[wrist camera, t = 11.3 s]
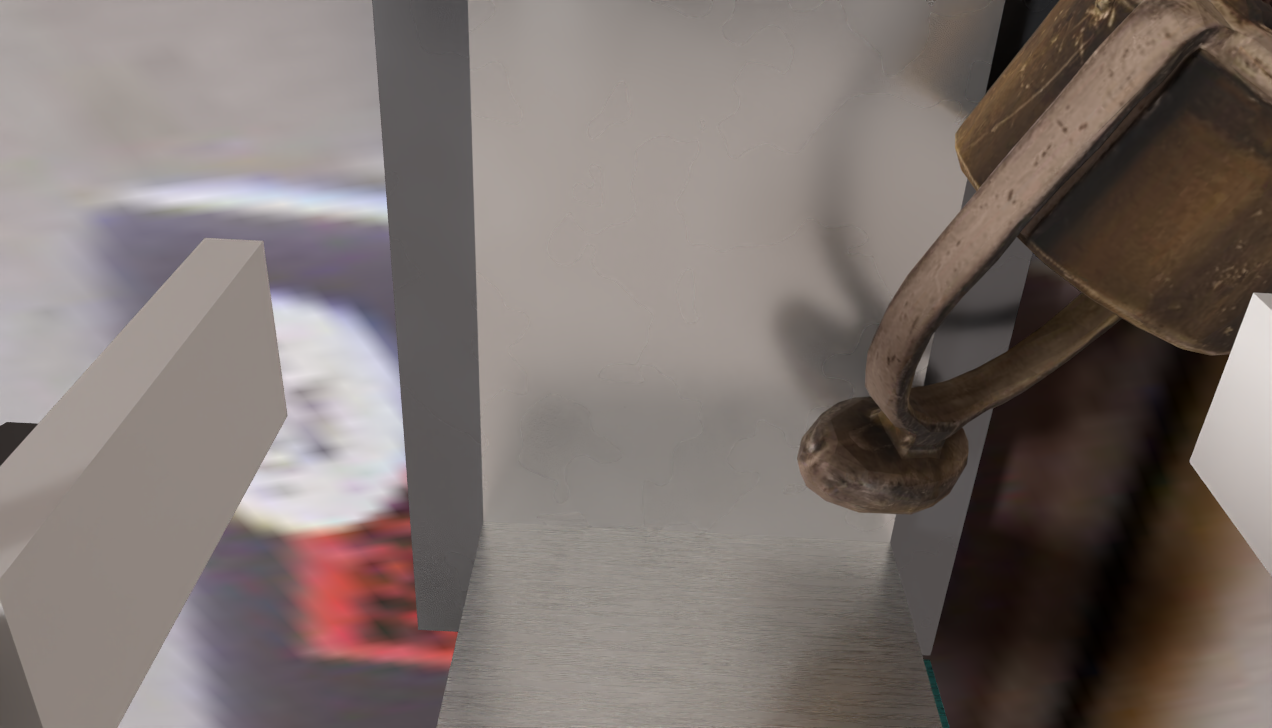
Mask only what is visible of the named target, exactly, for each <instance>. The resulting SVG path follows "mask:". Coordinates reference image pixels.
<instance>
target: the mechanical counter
mask: <svg viewBox="0 0 1272 728" xmlns="http://www.w3.org/2000/svg"><path fill="white" fill-rule="evenodd" d="M955 149H956V153H957V157H958V160H959V164H960V168H961V170H962V172H963V173H964V175H965V176H966V177H967V179H968V180H969V182H970V183H971V184H972V186H973V187H974V188H975V190H976V193H975V194H974V195H973V196H972V197H971V199H970V200H969V201H968V202H967V203H966V205H965V206H964V207H963V208H962V209H961V210H960V212H959V213H958V214H957V215H956V216H955V218H954V219H953V220H952V221H951V222H950V224H949V225H948V226H947V227H946V228H945V230H944V231H943V232H942V233H941V234H940V236H939V237H938V238H937V239H936V241H935V242H934V243H933V244H932V245H931V247H930V248H929V249H928V250H927V252H926V253H925V254H924V255H923V256H922V258H921V259H920V260H919V261H918V263H917V264H916V265H915V266H914V267H913V269H912V270H911V271H910V272H909V274H908V275H907V276H906V278H905V280H904V281H903V283H902V284H901V286H900V287H899V289H898V291H897V292H896V294H895V295H894V297H893V298H892V300H891V302H890V303H889V305H888V307H887V309H886V311H885V314H884V316H883V318H882V320H881V322H880V324H879V326H878V328H877V331H876V333H875V335H874V337H873V339H872V342H871V344H870V347H869V350H868V354H867V362H866V372H865V387H866V388H867V390H868V392H869V394H870V396H868V397H855V398H851V399H848V400H844V401H841V402H838V403H836V404H835V405H834V406H832V407H831V408H829V409H828V410H826V411H825V412H823V413H822V414H821V415H820V416H819V417H818V418H817V420H816V421H815V422H814V423H813V425H812V426H811V427H810V428H809V429H808V431H807V432H806V433H805V434H804V435H803V437H802V439H801V443H800V448H799V452H798V456H797V461H798V465H799V469H800V473H801V475H802V478H803V480H804V482H805V485H806V487H808V488H809V489H810V490H812V491H813V492H814V493H816V494H817V495H818V496H820V497H821V498H822V499H824V500H825V501H827V502H830V503H833V504H836V505H838V506H841V507H844V508H847V509H850V510H853V511H855V512H858V513H881V514H909V515H911V514H914V513H916V512H919V511H922V510H924V509H927V508H930V507H933V506H934V505H935V504H937V503H938V502H939V501H941V500H942V499H943V498H945V497H946V496H947V495H949V494H950V492H951V490H952V489H953V487H954V485H955V484H956V482H957V480H958V479H959V477H960V475H961V474H962V472H963V470H964V469H965V467H966V465H967V460H968V452H969V446H968V439H967V437H966V434H965V431H964V429H963V428H962V427H963V426H965V425H966V424H967V423H968V422H970V421H972V420H973V419H975V418H976V417H978V416H979V415H981V414H983V413H984V412H986V411H987V410H990V409H992V408H995V407H997V406H1000V405H1002V404H1003V403H1005V402H1007V401H1009V400H1011V399H1012V398H1014V397H1016V396H1018V395H1020V394H1022V393H1023V392H1025V391H1026V390H1028V389H1029V388H1031V387H1032V386H1033V385H1035V384H1036V383H1038V382H1039V381H1041V380H1042V379H1044V378H1045V377H1046V376H1048V375H1049V374H1051V373H1052V372H1054V371H1055V370H1056V369H1058V368H1059V367H1060V366H1062V365H1063V364H1065V363H1066V362H1067V361H1069V360H1070V359H1071V358H1073V357H1074V356H1075V355H1077V354H1078V353H1079V352H1080V351H1082V350H1083V349H1084V348H1086V347H1087V346H1088V345H1089V344H1091V343H1092V342H1093V341H1095V340H1096V339H1097V338H1099V337H1100V336H1101V335H1102V334H1104V333H1105V332H1106V331H1107V330H1108V329H1110V328H1111V327H1112V326H1113V325H1115V324H1116V323H1117V322H1118V321H1120V320H1121V319H1124V320H1126V321H1127V322H1129V323H1130V324H1132V325H1134V326H1136V327H1138V328H1140V329H1142V330H1144V331H1146V332H1148V333H1150V334H1152V335H1154V336H1156V337H1158V338H1160V339H1162V340H1164V341H1166V342H1169V343H1171V344H1173V345H1175V346H1177V347H1179V348H1181V349H1184V350H1189V351H1193V352H1198V353H1202V354H1206V355H1224V354H1230V353H1231V350H1232V348H1233V345H1234V342H1235V340H1236V337H1237V334H1238V332H1239V329H1240V326H1241V324H1242V321H1243V319H1244V316H1245V313H1246V311H1247V308H1248V305H1249V303H1250V300H1251V297H1252V295H1253V293H1270V294H1272V0H1059V1H1058V3H1057V4H1056V5H1055V6H1054V8H1053V9H1052V10H1051V11H1050V13H1049V14H1048V15H1047V17H1046V18H1045V19H1044V20H1043V22H1042V23H1041V24H1040V25H1039V27H1038V28H1037V29H1036V30H1035V32H1034V33H1033V34H1032V36H1031V37H1030V38H1029V39H1028V41H1027V42H1026V43H1025V44H1024V46H1023V47H1022V48H1021V50H1020V51H1019V52H1018V53H1017V55H1016V56H1015V57H1014V58H1013V60H1012V61H1011V62H1010V64H1009V65H1008V66H1007V67H1006V69H1005V70H1004V71H1003V72H1002V74H1001V75H1000V76H999V78H998V79H997V80H996V81H995V83H994V84H993V85H992V86H991V88H990V89H989V90H988V92H987V93H986V94H985V95H984V97H983V98H982V99H981V100H980V102H979V103H978V104H977V106H976V107H975V108H974V109H973V111H972V112H971V113H970V114H969V116H968V117H967V118H966V120H965V121H964V122H963V123H962V125H961V126H960V127H959V129H958V130H957V132H956V133H955ZM1016 237H1017V238H1018V239H1019V240H1020V241H1021V242H1022V243H1023V244H1024V245H1026V246H1027V247H1028V248H1029V249H1030V250H1031V251H1032V252H1033V253H1034V254H1035V255H1036V256H1037V257H1038V258H1039V259H1040V260H1041V261H1042V262H1043V263H1044V264H1045V265H1047V266H1048V267H1049V268H1051V269H1052V270H1053V271H1055V272H1056V273H1057V274H1059V275H1060V276H1061V277H1063V278H1064V279H1065V280H1066V281H1068V282H1069V283H1070V284H1072V285H1073V286H1074V287H1076V288H1077V289H1078V290H1080V291H1081V292H1082V293H1081V294H1080V295H1079V296H1078V297H1077V298H1075V299H1074V300H1073V301H1072V302H1071V303H1070V304H1068V305H1067V306H1066V307H1065V308H1064V309H1062V310H1061V311H1060V312H1059V313H1058V314H1057V315H1055V316H1054V317H1053V318H1052V319H1051V320H1050V321H1048V322H1047V323H1046V324H1045V325H1044V326H1042V327H1041V328H1040V329H1038V330H1037V331H1035V332H1034V333H1032V334H1031V335H1030V336H1028V337H1027V338H1025V339H1024V340H1022V341H1021V342H1019V343H1018V344H1017V345H1015V346H1014V347H1012V348H1011V349H1009V350H1008V351H1007V352H1005V353H1003V354H1001V355H999V356H998V357H996V358H994V359H992V360H990V361H988V362H987V363H985V364H983V365H981V366H979V367H977V368H975V369H973V370H971V371H968V372H966V373H964V374H961V375H959V376H957V377H954V378H952V379H949V380H947V381H943V382H939V383H935V384H931V385H927V386H919V387H912V383H913V379H914V376H915V372H916V368H917V366H918V364H919V362H920V360H921V357H922V355H923V353H924V351H925V349H926V347H927V345H928V343H929V341H930V339H931V337H932V335H933V334H934V332H935V331H936V330H937V329H938V327H939V326H940V325H941V323H942V322H943V321H944V320H945V318H946V317H947V316H948V315H949V313H950V312H951V311H952V310H953V308H954V307H955V306H956V305H957V303H958V302H959V301H960V300H961V299H962V297H963V296H964V295H965V294H966V293H967V292H968V291H969V290H970V289H971V288H972V287H973V286H974V285H975V284H976V283H977V282H978V281H979V280H980V279H981V278H982V277H983V276H984V275H985V273H986V272H987V271H988V270H989V269H990V268H991V267H992V266H993V265H994V264H995V263H996V262H997V261H998V260H999V258H1000V257H1001V256H1002V255H1003V253H1004V252H1005V251H1006V250H1007V248H1008V247H1009V246H1010V245H1011V244H1012V242H1013V241H1014V240H1015V239H1016ZM911 387H912V388H911Z"/></svg>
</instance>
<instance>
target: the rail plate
mask: <svg viewBox="0 0 1272 728" xmlns="http://www.w3.org/2000/svg"><path fill="white" fill-rule="evenodd" d="M1058 1H1059V0H372V4H373V18H374V32H375V45H376V59H377V72H378V86H379V100H380V113H381V127H382V141H383V154H384V168H385V182H386V195H387V209H388V223H389V236H390V250H391V264H392V277H393V291H394V305H395V318H396V332H397V345H398V359H399V373H400V386H401V400H402V414H403V427H404V441H405V455H406V468H407V482H408V496H409V509H410V523H411V537H412V550H413V564H414V577H415V591H416V605H417V618H418V630H435V631H455V632H458V636H457V640H456V645H455V649H454V653H453V658H452V662H451V666H450V671H449V675H448V680H447V684H446V688H445V693H444V697H443V702H442V706H441V710H440V715H439V719H438V724H437V728H949V725H948V721H947V718H946V715H945V711H944V708H943V704H942V701H941V697H940V694H939V690H938V687H937V683H936V680H935V677H934V673H933V670H932V666H931V663H930V660H923V657H922V655H931V651H932V647H933V643H934V639H935V635H936V631H937V627H938V624H939V620H940V616H941V612H942V608H943V604H944V600H945V596H946V592H947V588H948V584H949V580H950V576H951V572H952V568H953V564H954V561H955V557H956V553H957V549H958V545H959V541H960V537H961V533H962V529H963V525H964V521H965V517H966V513H967V509H968V505H969V501H970V497H971V494H972V490H973V486H974V482H975V478H976V474H977V470H978V466H979V462H980V458H981V454H982V450H983V446H984V442H985V438H986V434H987V431H988V427H989V423H990V419H991V415H992V411H993V408H992V409H990V410H987V411H986V412H984V413H983V414H981V415H979V416H978V417H976V418H975V419H973V420H972V421H970V422H968V423H967V424H966V425H965V426H963V427H962V428H963V429H964V431H965V434H966V437H967V439H968V446H969V452H968V460H967V465H966V467H965V469H964V470H963V472H962V474H961V475H960V477H959V479H958V480H957V482H956V484H955V485H954V487H953V489H952V490H951V492H950V494H949V495H947V496H946V497H945V498H943V499H942V500H941V501H939V502H938V503H937V504H935V505H934V506H933V507H930V508H927V509H924V510H922V511H919V512H916V513H914V514H911V515H909V514H881V513H858V512H855V511H853V510H850V509H847V508H844V507H841V506H838V505H836V504H833V503H830V502H827V501H825V500H824V499H822V498H821V497H820V496H818V495H817V494H816V493H814V492H813V491H812V490H810V489H809V488H808V487H806V485H805V482H804V480H803V478H802V475H801V473H800V469H799V465H798V461H797V456H798V452H799V448H800V443H801V439H802V437H803V435H804V434H805V433H806V432H807V431H808V429H809V428H810V427H811V426H812V425H813V423H814V422H815V421H816V420H817V418H818V417H819V416H820V415H821V414H822V413H823V412H825V411H826V410H828V409H829V408H831V407H832V406H834V405H835V404H836V403H838V402H841V401H844V400H848V399H851V398H855V397H868V396H870V394H869V392H868V390H867V388H866V387H865V372H866V362H867V354H868V350H869V347H870V344H871V342H872V339H873V337H874V335H875V333H876V331H877V328H878V326H879V324H880V322H881V320H882V318H883V316H884V314H885V311H886V309H887V307H888V305H889V303H890V302H891V300H892V298H893V297H894V295H895V294H896V292H897V291H898V289H899V287H900V286H901V284H902V283H903V281H904V280H905V278H906V276H907V275H908V274H909V272H910V271H911V270H912V269H913V267H914V266H915V265H916V264H917V263H918V261H919V260H920V259H921V258H922V256H923V255H924V254H925V253H926V252H927V250H928V249H929V248H930V247H931V245H932V244H933V243H934V242H935V241H936V239H937V238H938V237H939V236H940V234H941V233H942V232H943V231H944V230H945V228H946V227H947V226H948V225H949V224H950V222H951V221H952V220H953V219H954V218H955V216H956V215H957V214H958V213H959V212H960V210H961V209H962V208H963V207H964V206H965V205H966V203H967V202H968V201H969V200H970V199H971V197H972V196H973V195H974V194H975V193H976V190H975V188H974V187H973V186H972V184H971V183H970V182H969V180H968V179H967V177H966V176H965V175H964V173H963V172H962V170H961V168H960V164H959V160H958V157H957V153H956V149H955V133H956V132H957V130H958V129H959V127H960V126H961V125H962V123H963V122H964V121H965V120H966V118H967V117H968V116H969V114H970V113H971V112H972V111H973V109H974V108H975V107H976V106H977V104H978V103H979V102H980V100H981V99H982V98H983V97H984V95H985V94H986V93H987V92H988V90H989V89H990V88H991V86H992V85H993V84H994V83H995V81H996V80H997V79H998V78H999V76H1000V75H1001V74H1002V72H1003V71H1004V70H1005V69H1006V67H1007V66H1008V65H1009V64H1010V62H1011V61H1012V60H1013V58H1014V57H1015V56H1016V55H1017V53H1018V52H1019V51H1020V50H1021V48H1022V47H1023V46H1024V44H1025V43H1026V42H1027V41H1028V39H1029V38H1030V37H1031V36H1032V34H1033V33H1034V32H1035V30H1036V29H1037V28H1038V27H1039V25H1040V24H1041V23H1042V22H1043V20H1044V19H1045V18H1046V17H1047V15H1048V14H1049V13H1050V11H1051V10H1052V9H1053V8H1054V6H1055V5H1056V4H1057V3H1058ZM1032 253H1033V252H1032V251H1031V250H1030V249H1029V248H1028V247H1027V246H1026V245H1024V244H1023V243H1022V242H1021V241H1020V240H1019V239H1018V238H1017V237H1016V239H1015V240H1014V241H1013V242H1012V244H1011V245H1010V246H1009V247H1008V248H1007V250H1006V251H1005V252H1004V253H1003V255H1002V256H1001V257H1000V258H999V260H998V261H997V262H996V263H995V264H994V265H993V266H992V267H991V268H990V269H989V270H988V271H987V272H986V273H985V275H984V276H983V277H982V278H981V279H980V280H979V281H978V282H977V283H976V284H975V285H974V286H973V287H972V288H971V289H970V290H969V291H968V292H967V293H966V294H965V295H964V296H963V297H962V299H961V300H960V301H959V302H958V303H957V305H956V306H955V307H954V308H953V310H952V311H951V312H950V313H949V315H948V316H947V317H946V318H945V320H944V321H943V322H942V323H941V325H940V326H939V327H938V329H937V330H936V331H935V332H934V334H933V335H932V337H931V339H930V341H929V343H928V345H927V347H926V349H925V351H924V353H923V355H922V357H921V360H920V362H919V364H918V366H917V368H916V372H915V376H914V379H913V383H912V387H919V386H927V385H931V384H935V383H939V382H943V381H947V380H949V379H952V378H954V377H957V376H959V375H961V374H964V373H966V372H968V371H971V370H973V369H975V368H977V367H979V366H981V365H983V364H985V363H987V362H988V361H990V360H992V359H994V358H996V357H998V356H999V355H1001V354H1003V353H1005V352H1007V351H1008V348H1009V344H1010V340H1011V336H1012V332H1013V328H1014V324H1015V320H1016V316H1017V312H1018V308H1019V304H1020V301H1021V297H1022V293H1023V289H1024V285H1025V281H1026V277H1027V273H1028V269H1029V265H1030V261H1031V257H1032ZM912 387H911V388H912Z"/></svg>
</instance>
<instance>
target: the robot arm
mask: <svg viewBox="0 0 1272 728" xmlns="http://www.w3.org/2000/svg"><path fill="white" fill-rule="evenodd" d="M286 417H287V409H286V402H285V394H284V387H283V380H282V373H281V366H280V359H279V352H278V344H277V337H276V330H275V323H274V316H273V309H272V302H271V294H270V287H269V280H268V273H267V266H266V259H265V251H264V244H263V241H253V240H234V239H214V238H204V240H203V241H202V242H201V243H200V244H199V245H198V246H197V247H196V249H195V250H194V251H193V252H192V253H191V254H190V255H189V256H188V257H187V259H186V260H185V261H184V262H183V263H182V264H181V265H180V266H179V267H178V269H177V270H176V271H175V272H174V273H173V274H172V275H171V276H170V278H169V279H168V280H167V281H166V282H165V283H164V284H163V285H162V286H161V288H160V289H159V290H158V291H157V292H156V293H155V294H154V295H153V296H152V298H151V299H150V300H149V301H148V302H147V303H146V304H145V305H144V307H143V308H142V309H141V310H140V311H139V312H138V313H137V314H136V315H135V317H134V318H133V319H132V320H131V321H130V322H129V323H128V324H127V325H126V327H125V328H124V329H123V330H122V331H121V332H120V333H119V334H118V336H117V337H116V338H115V339H114V340H113V341H112V342H111V343H110V344H109V346H108V347H107V348H106V349H105V350H104V351H103V352H102V353H101V354H100V356H99V357H98V358H97V359H96V360H95V361H94V362H93V363H92V364H91V366H90V367H89V368H88V369H87V370H86V371H85V372H84V373H83V375H82V376H81V377H80V378H79V379H78V380H77V381H76V382H75V383H74V385H73V386H72V387H71V388H70V389H69V390H68V391H67V392H66V393H65V395H64V396H63V397H62V398H61V399H60V400H59V401H58V402H57V404H56V405H55V406H54V407H53V408H52V409H51V410H50V411H49V412H48V414H47V415H46V416H45V417H44V418H43V419H42V420H41V421H40V422H39V424H33V423H14V422H6V423H5V424H3V425H1V426H0V728H117V727H118V725H119V724H120V722H121V720H122V718H123V716H124V714H125V713H126V711H127V709H128V707H129V705H130V703H131V702H132V700H133V698H134V696H135V694H136V692H137V691H138V689H139V687H140V685H141V683H142V681H143V680H144V678H145V676H146V674H147V672H148V670H149V669H150V667H151V665H152V663H153V661H154V659H155V658H156V656H157V654H158V652H159V650H160V648H161V647H162V645H163V643H164V641H165V639H166V637H167V636H168V634H169V632H170V630H171V628H172V626H173V625H174V623H175V621H176V619H177V617H178V615H179V614H180V612H181V610H182V608H183V606H184V604H185V603H186V601H187V599H188V597H189V595H190V593H191V592H192V590H193V588H194V586H195V584H196V582H197V581H198V579H199V577H200V575H201V573H202V571H203V570H204V568H205V566H206V564H207V562H208V560H209V559H210V557H211V555H212V553H213V551H214V549H215V548H216V546H217V544H218V542H219V540H220V538H221V537H222V535H223V533H224V531H225V529H226V527H227V526H228V524H229V522H230V520H231V518H232V516H233V515H234V513H235V511H236V509H237V507H238V505H239V504H240V502H241V500H242V498H243V496H244V494H245V493H246V491H247V489H248V487H249V485H250V483H251V482H252V480H253V478H254V476H255V474H256V472H257V471H258V469H259V467H260V465H261V463H262V461H263V460H264V458H265V456H266V454H267V452H268V450H269V449H270V447H271V445H272V443H273V441H274V439H275V438H276V436H277V434H278V432H279V430H280V428H281V427H282V425H283V423H284V421H285V419H286ZM1189 462H1190V463H1191V465H1192V466H1193V468H1194V469H1195V470H1196V472H1197V473H1198V475H1199V476H1200V477H1201V479H1202V480H1203V482H1204V483H1205V484H1206V486H1207V487H1208V489H1209V490H1210V491H1211V493H1212V494H1213V496H1214V497H1215V498H1216V500H1217V501H1218V502H1219V504H1220V505H1221V507H1222V508H1223V509H1224V511H1225V512H1226V514H1227V515H1228V516H1229V518H1230V519H1231V521H1232V522H1233V523H1234V525H1235V526H1236V528H1237V529H1238V530H1239V532H1240V533H1241V535H1242V536H1243V537H1244V539H1245V540H1246V542H1247V543H1248V544H1249V546H1250V547H1251V549H1252V550H1253V551H1254V553H1255V554H1256V555H1257V557H1258V558H1259V560H1260V561H1261V562H1262V564H1263V565H1264V567H1265V568H1266V569H1267V571H1268V572H1269V574H1270V575H1271V576H1272V294H1270V293H1253V295H1252V297H1251V300H1250V303H1249V305H1248V308H1247V311H1246V313H1245V316H1244V319H1243V321H1242V324H1241V326H1240V329H1239V332H1238V334H1237V337H1236V340H1235V342H1234V345H1233V348H1232V350H1231V353H1230V356H1229V358H1228V361H1227V364H1226V366H1225V369H1224V371H1223V374H1222V377H1221V379H1220V382H1219V385H1218V387H1217V390H1216V393H1215V395H1214V398H1213V401H1212V403H1211V406H1210V408H1209V411H1208V414H1207V416H1206V419H1205V422H1204V424H1203V427H1202V430H1201V432H1200V435H1199V438H1198V440H1197V443H1196V446H1195V448H1194V451H1193V453H1192V456H1191V459H1190V461H1189Z"/></svg>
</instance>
